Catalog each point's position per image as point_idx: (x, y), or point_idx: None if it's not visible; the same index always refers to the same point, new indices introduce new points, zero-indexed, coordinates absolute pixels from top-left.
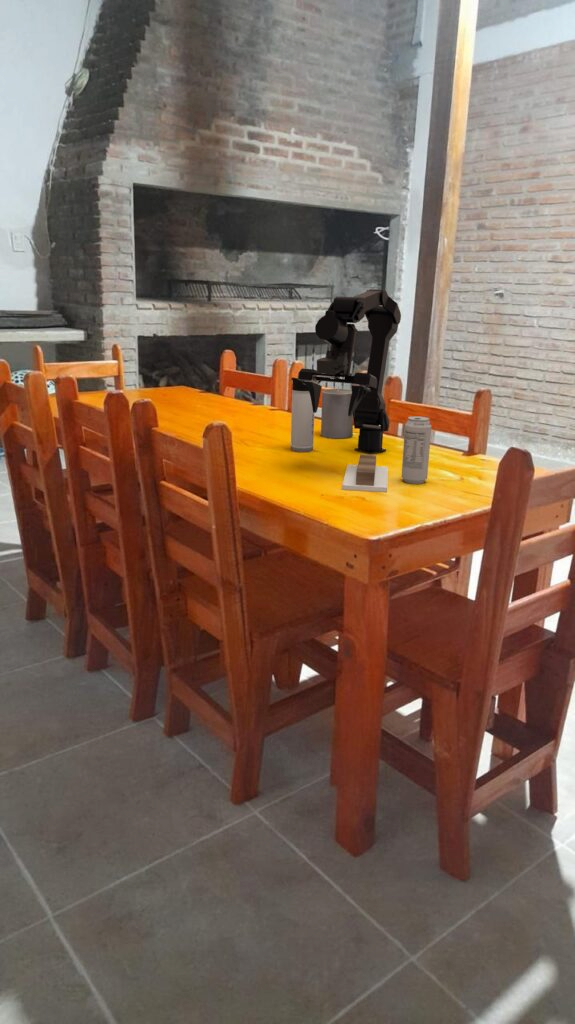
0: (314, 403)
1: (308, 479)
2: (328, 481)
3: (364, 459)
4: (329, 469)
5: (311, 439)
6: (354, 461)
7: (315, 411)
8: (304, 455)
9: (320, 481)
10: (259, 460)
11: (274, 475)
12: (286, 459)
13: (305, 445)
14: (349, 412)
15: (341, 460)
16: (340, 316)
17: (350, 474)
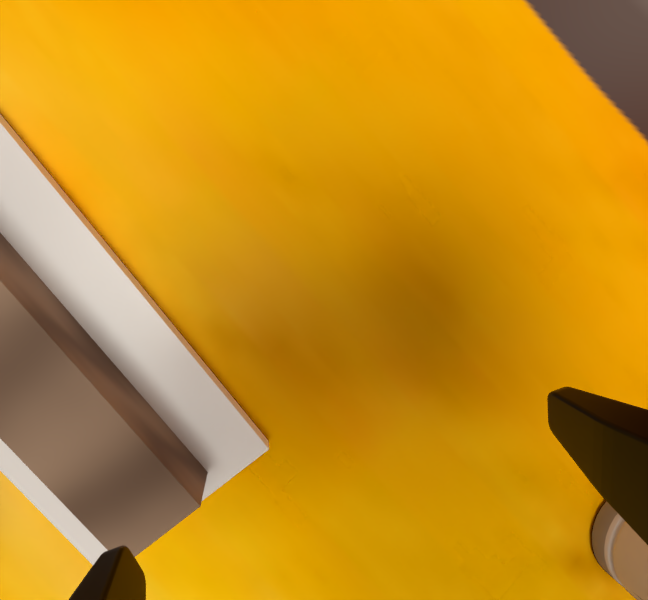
0: (641, 433)
1: (250, 142)
2: (159, 185)
3: (91, 432)
4: (315, 364)
5: (636, 580)
6: (341, 567)
7: (555, 412)
8: (564, 467)
9: (185, 155)
10: (636, 241)
11: (409, 79)
12: (569, 349)
13: (623, 529)
14: (92, 581)
15: (393, 533)
16: None
17: (117, 309)
